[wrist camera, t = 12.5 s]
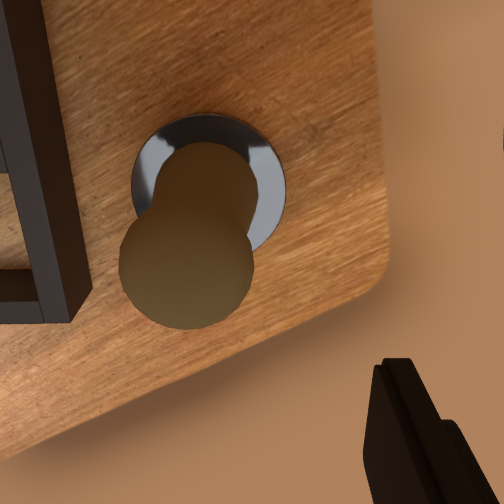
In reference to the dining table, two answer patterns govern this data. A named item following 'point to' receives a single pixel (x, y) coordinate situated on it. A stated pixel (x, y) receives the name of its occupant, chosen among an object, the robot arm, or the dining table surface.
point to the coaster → (224, 133)
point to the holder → (37, 177)
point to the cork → (193, 239)
